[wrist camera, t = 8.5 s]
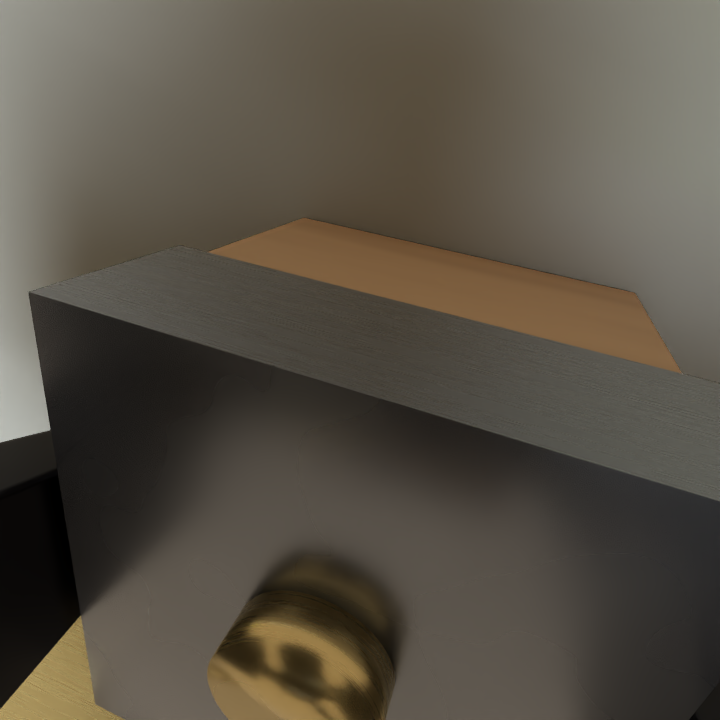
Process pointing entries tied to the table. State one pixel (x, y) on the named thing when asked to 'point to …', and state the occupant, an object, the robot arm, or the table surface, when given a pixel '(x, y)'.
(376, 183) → the table surface
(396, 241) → the plane body
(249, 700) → the cap plate
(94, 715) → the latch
